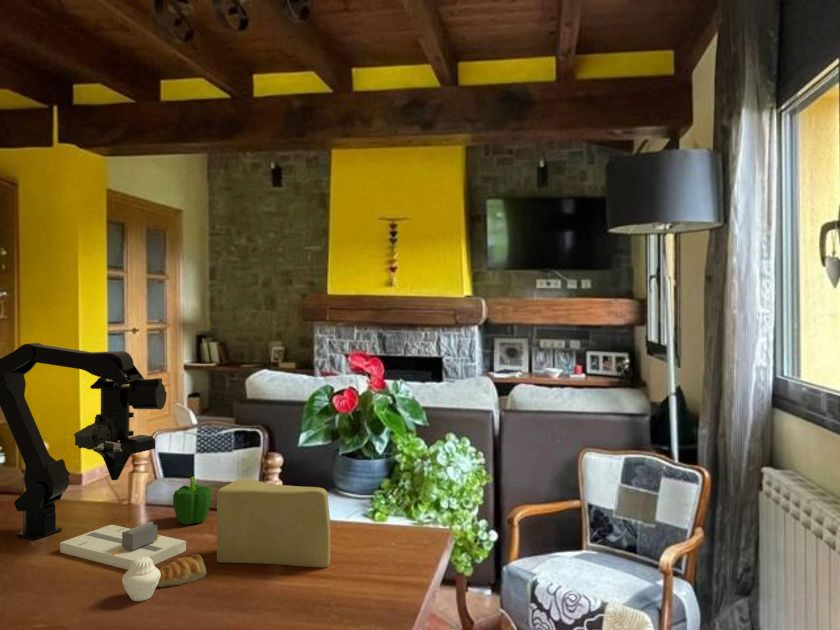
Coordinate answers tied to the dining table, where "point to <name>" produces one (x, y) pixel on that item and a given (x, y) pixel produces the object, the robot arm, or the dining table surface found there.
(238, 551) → the cheese
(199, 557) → the pastry
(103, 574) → the dining table surface
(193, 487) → the bell pepper
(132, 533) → the fader cap
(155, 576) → the muffin
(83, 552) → the dimmer console
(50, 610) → the dining table surface
